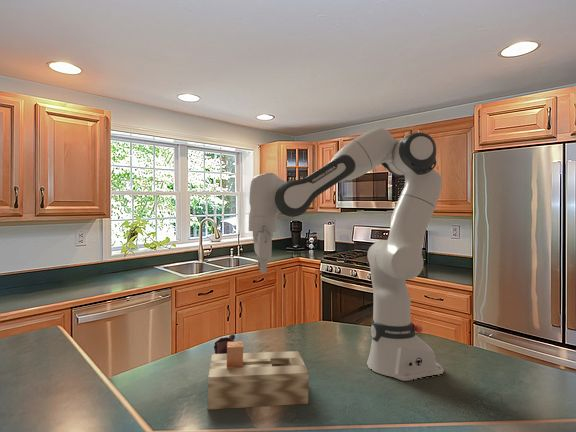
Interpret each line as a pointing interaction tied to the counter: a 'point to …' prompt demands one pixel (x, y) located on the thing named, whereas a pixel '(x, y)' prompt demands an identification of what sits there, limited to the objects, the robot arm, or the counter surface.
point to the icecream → (223, 344)
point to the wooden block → (235, 354)
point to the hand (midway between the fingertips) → (262, 270)
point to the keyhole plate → (258, 381)
